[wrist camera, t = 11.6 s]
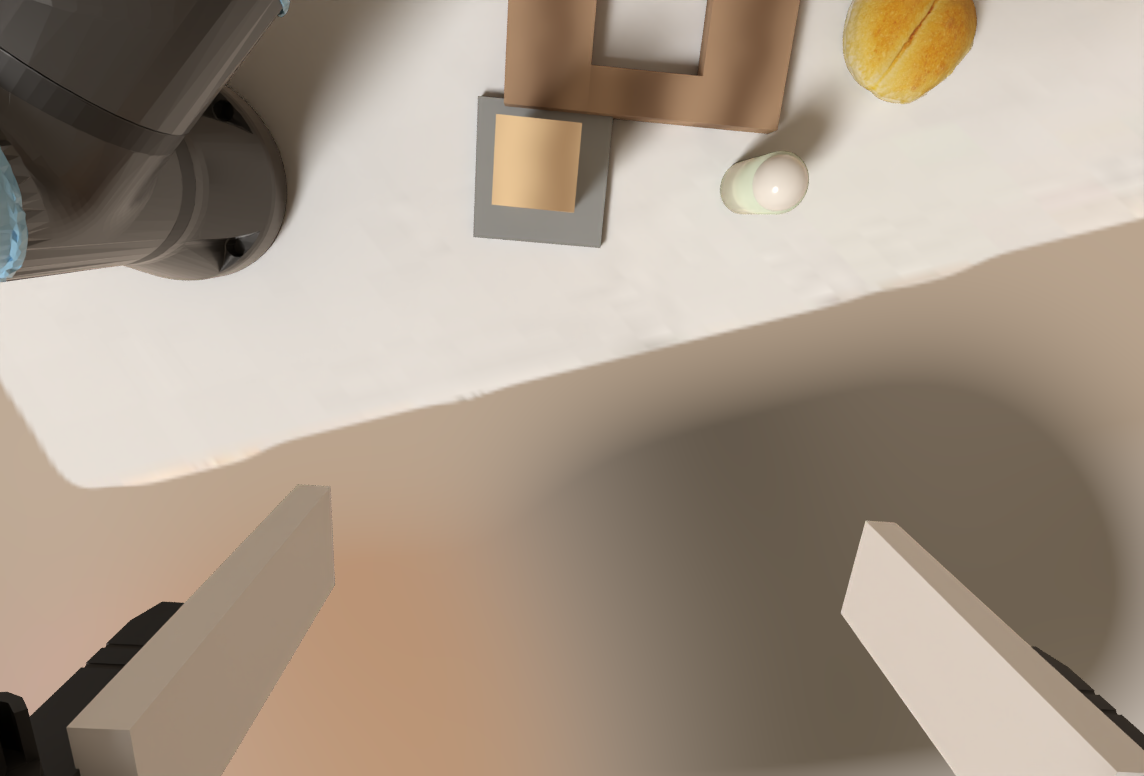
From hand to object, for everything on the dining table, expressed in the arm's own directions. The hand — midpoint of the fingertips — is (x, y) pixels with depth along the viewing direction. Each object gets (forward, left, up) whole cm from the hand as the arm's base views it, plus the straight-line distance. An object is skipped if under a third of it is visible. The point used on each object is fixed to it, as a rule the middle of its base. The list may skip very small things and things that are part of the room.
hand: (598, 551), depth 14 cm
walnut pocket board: (+4, +22, -35) cm, 41 cm away
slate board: (-3, +11, -35) cm, 36 cm away
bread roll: (+23, +22, -35) cm, 47 cm away
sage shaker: (+13, +11, -35) cm, 39 cm away
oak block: (-3, +11, -34) cm, 36 cm away
